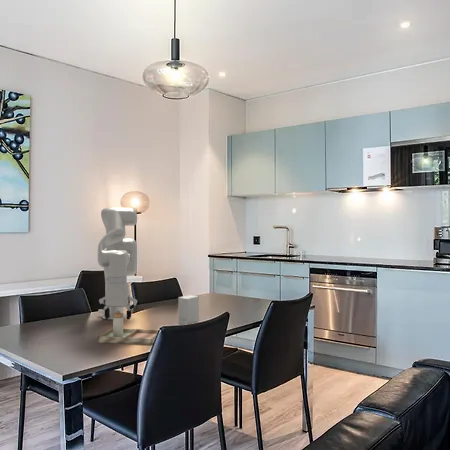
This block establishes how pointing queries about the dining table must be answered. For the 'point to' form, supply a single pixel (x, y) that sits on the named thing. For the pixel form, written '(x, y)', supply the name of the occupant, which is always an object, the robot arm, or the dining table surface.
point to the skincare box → (188, 309)
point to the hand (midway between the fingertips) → (118, 318)
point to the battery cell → (118, 324)
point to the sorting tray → (129, 336)
